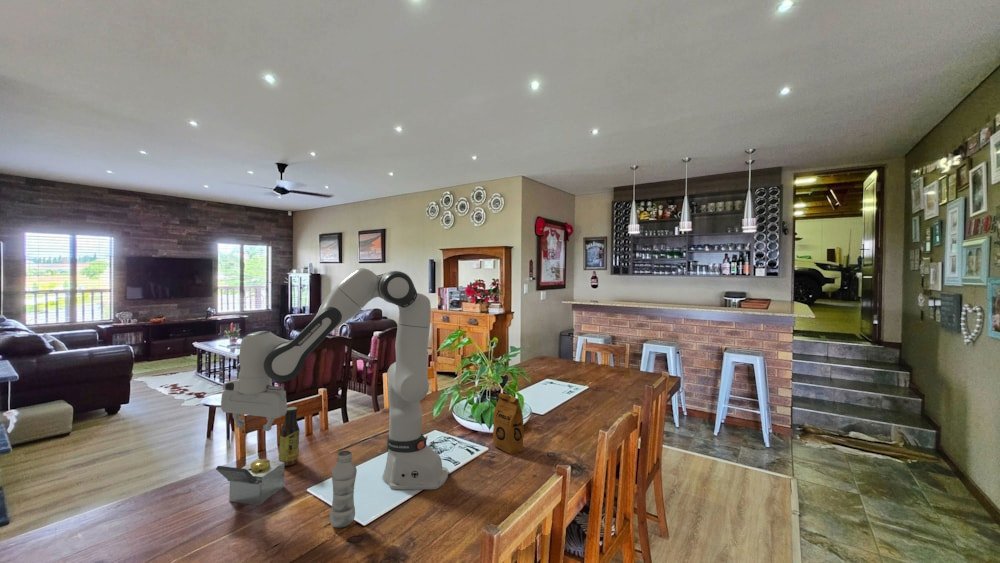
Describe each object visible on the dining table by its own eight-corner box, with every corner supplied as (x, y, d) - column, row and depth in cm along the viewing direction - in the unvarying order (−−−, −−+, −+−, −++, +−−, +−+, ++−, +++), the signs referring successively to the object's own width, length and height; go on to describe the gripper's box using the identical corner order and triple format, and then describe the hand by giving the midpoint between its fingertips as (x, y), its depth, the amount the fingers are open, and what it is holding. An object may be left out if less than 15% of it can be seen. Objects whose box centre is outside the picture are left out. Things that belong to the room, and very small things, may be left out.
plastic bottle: (333, 517, 117) (335, 448, 116) (357, 517, 117) (359, 448, 117) (326, 531, 110) (328, 458, 110) (351, 531, 111) (353, 458, 110)
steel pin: (272, 488, 130) (273, 460, 130) (260, 496, 125) (261, 467, 125) (258, 486, 131) (258, 458, 131) (245, 494, 126) (246, 465, 126)
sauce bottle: (290, 468, 144) (291, 412, 144) (274, 465, 146) (276, 410, 145) (302, 459, 151) (304, 406, 151) (287, 457, 152) (289, 405, 152)
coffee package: (508, 457, 159) (510, 401, 159) (489, 446, 169) (491, 393, 168) (527, 451, 165) (529, 397, 165) (507, 440, 175) (509, 390, 175)
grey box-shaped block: (283, 486, 132) (284, 462, 132) (259, 505, 121) (259, 478, 121) (256, 483, 134) (256, 458, 133) (229, 501, 123) (229, 475, 123)
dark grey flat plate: (257, 485, 121) (259, 481, 121) (244, 472, 115) (246, 468, 116) (228, 481, 122) (231, 477, 123) (214, 469, 117) (217, 465, 118)
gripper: (292, 384, 126) (290, 428, 127) (234, 378, 130) (232, 421, 130) (278, 389, 120) (276, 436, 120) (217, 383, 123) (216, 429, 124)
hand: (253, 428), depth 125 cm, fingers open, 8 cm apart
